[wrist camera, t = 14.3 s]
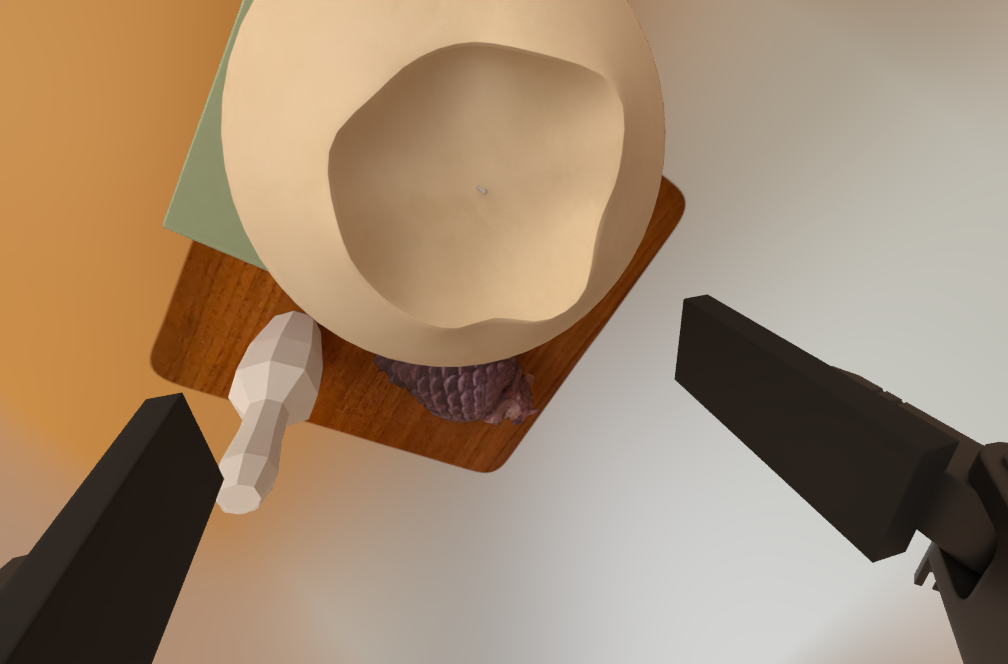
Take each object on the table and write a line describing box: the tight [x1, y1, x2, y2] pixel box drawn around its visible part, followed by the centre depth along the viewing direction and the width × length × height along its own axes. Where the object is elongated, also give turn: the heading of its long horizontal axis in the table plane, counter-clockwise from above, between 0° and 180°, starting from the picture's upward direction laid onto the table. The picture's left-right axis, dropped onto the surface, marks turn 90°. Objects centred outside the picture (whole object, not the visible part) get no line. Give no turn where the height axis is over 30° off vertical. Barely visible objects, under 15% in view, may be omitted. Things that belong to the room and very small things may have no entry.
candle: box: [221, 0, 665, 367], centre depth 9 cm, size 6×6×10 cm
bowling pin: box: [216, 311, 323, 514], centre depth 36 cm, size 6×6×22 cm
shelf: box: [163, 0, 268, 271], centre depth 26 cm, size 11×10×30 cm
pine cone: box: [374, 354, 539, 426], centre depth 48 cm, size 18×10×10 cm
